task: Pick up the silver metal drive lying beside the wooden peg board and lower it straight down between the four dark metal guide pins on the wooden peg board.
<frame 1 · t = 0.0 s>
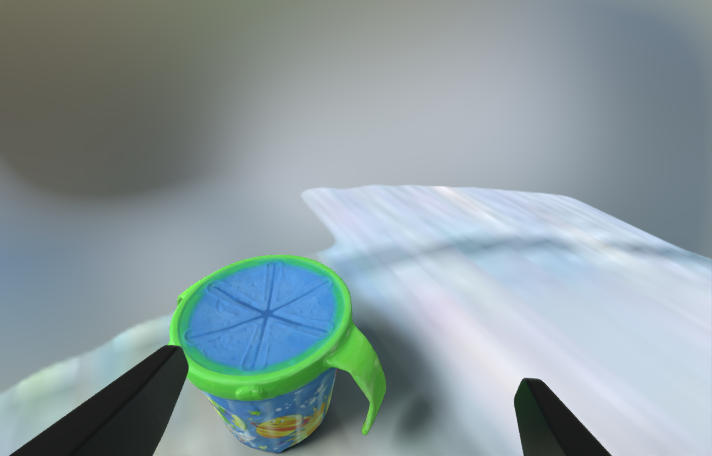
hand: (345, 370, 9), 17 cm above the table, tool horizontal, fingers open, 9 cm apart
snack cup: (282, 403, 25), on the table
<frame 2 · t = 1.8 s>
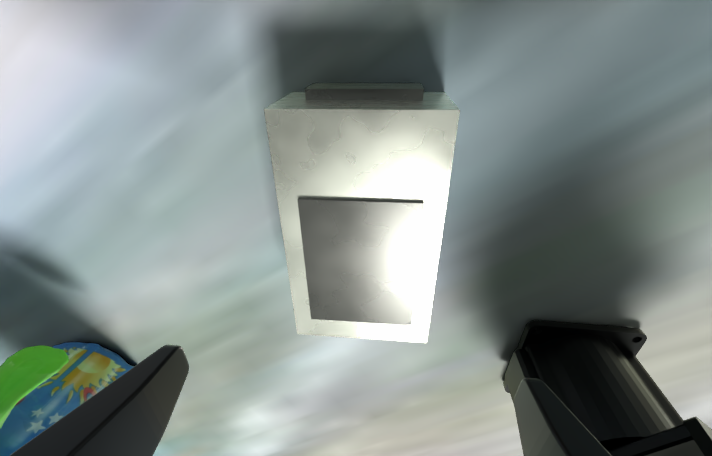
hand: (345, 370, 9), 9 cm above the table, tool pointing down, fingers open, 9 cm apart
drive: (366, 204, 17), on the table
snack cup: (102, 366, 27), on the table
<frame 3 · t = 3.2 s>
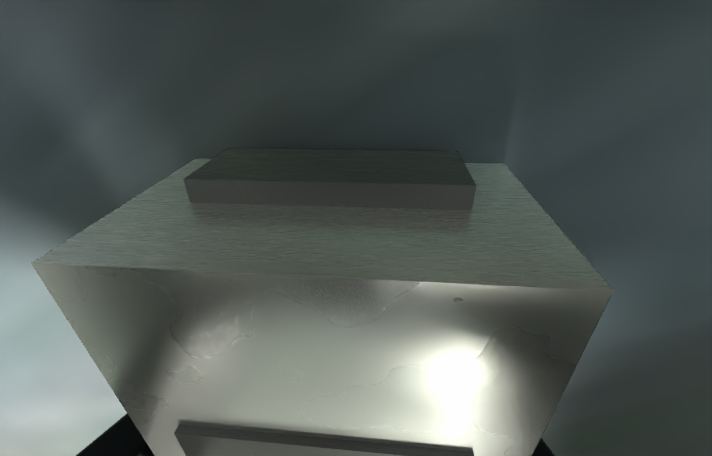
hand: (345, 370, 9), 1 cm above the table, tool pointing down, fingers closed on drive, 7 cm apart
drive: (350, 336, 10), on the table, touching gripper
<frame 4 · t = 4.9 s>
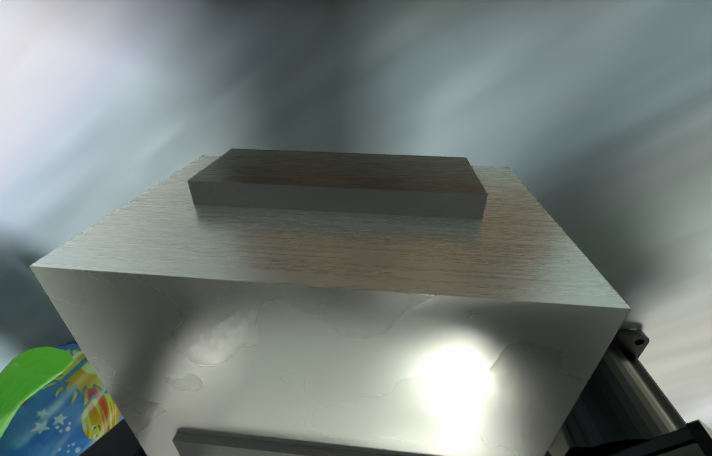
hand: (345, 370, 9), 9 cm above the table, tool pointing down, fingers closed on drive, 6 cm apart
drive: (350, 340, 10), point 8 cm above the table, touching gripper
snack cup: (106, 367, 27), on the table
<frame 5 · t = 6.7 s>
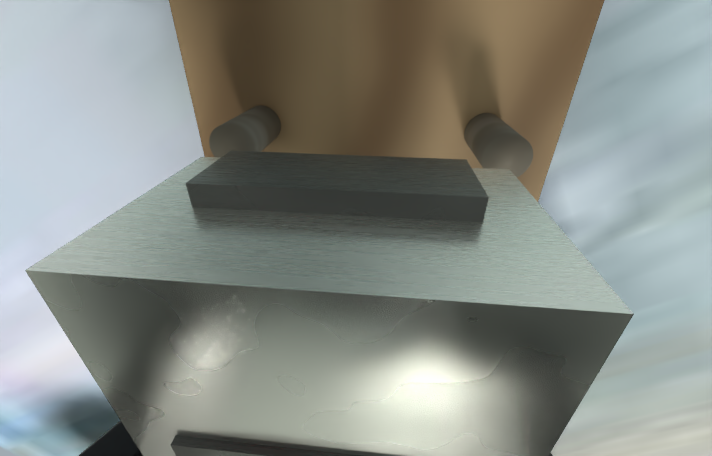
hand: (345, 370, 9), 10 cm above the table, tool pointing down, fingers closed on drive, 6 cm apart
drive: (350, 341, 10), point 9 cm above the table, touching gripper
wooden peg board: (369, 198, 18), on the table
when the fingers open (4 cm above the table, at t = 9.0 s): drive drops 2 cm, resting on wooden peg board.
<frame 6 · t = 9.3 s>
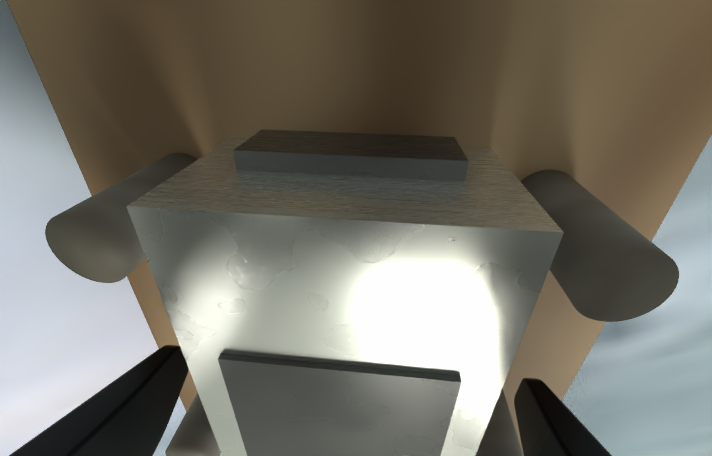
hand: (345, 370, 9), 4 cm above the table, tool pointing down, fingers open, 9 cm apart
drive: (355, 303, 11), point 1 cm above the table, touching wooden peg board
wooden peg board: (358, 276, 12), on the table
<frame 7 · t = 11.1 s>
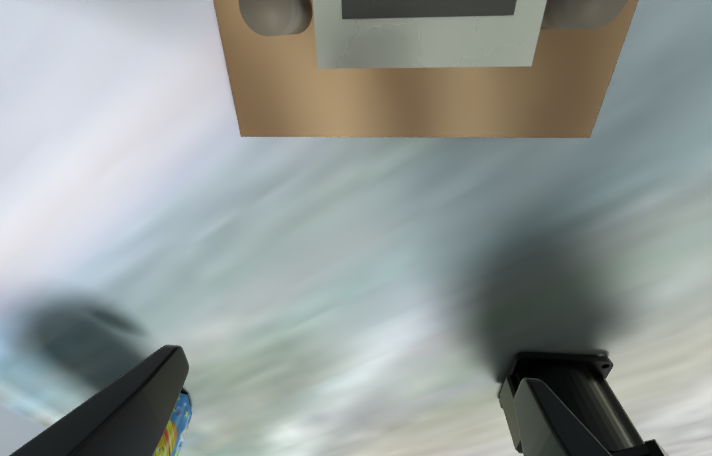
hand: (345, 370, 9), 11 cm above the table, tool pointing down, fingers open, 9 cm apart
snack cup: (157, 394, 31), on the table
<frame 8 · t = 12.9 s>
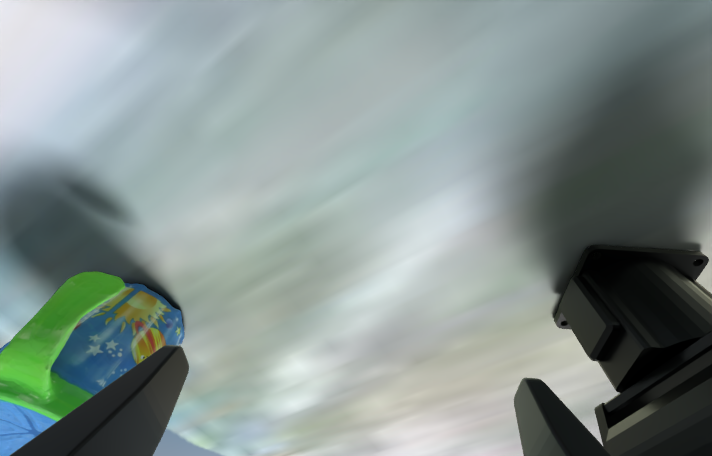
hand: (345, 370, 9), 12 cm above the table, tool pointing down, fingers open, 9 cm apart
snack cup: (144, 311, 27), on the table
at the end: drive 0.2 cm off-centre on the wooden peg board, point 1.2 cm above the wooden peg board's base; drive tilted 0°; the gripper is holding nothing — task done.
